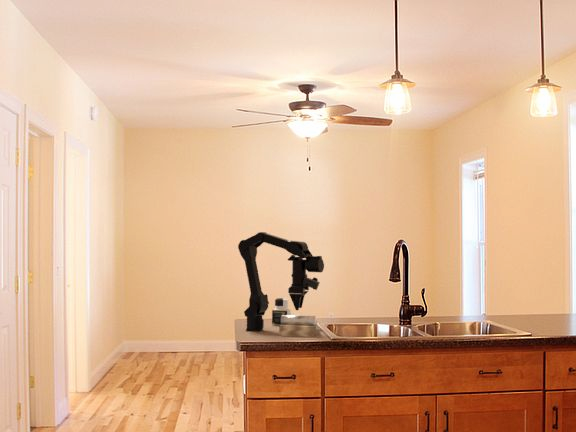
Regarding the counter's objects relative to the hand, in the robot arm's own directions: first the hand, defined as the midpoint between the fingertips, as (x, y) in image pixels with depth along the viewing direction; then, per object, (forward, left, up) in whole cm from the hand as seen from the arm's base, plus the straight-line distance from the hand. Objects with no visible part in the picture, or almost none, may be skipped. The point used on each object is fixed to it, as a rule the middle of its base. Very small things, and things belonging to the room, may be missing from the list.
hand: (298, 309), depth 286 cm
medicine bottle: (-12, +29, -11) cm, 33 cm away
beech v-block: (0, 0, -11) cm, 11 cm away
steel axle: (0, 0, -5) cm, 5 cm away
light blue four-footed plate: (0, +12, -11) cm, 16 cm away
